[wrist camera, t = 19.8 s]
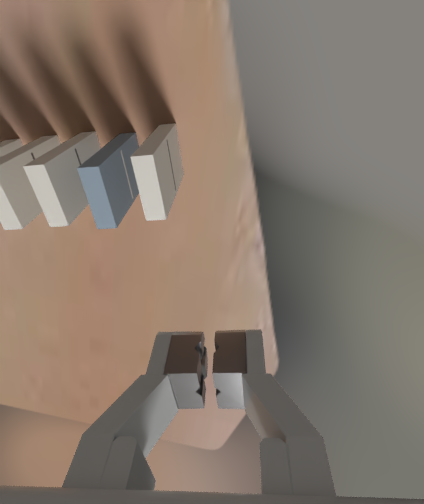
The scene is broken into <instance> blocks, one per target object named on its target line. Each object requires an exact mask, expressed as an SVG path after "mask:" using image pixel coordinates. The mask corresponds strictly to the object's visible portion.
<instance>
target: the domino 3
mask: <svg viewBox="0 0 424 504" xmlns="http://www.w3.org/2000/svg"><path fill="white" fill-rule="evenodd" d="M138 148H139V145H138V140H137V136H136V132H135V133H123V134H119V135H118V136H116V137H115V138H114V139H113V140H111V141H110V142H109V143H108V144H106V145H105V146H104V147H103V148H101V149H100V150H99V151H98V152H96V153H95V154H94V155H93V156H91V157H90V158H89V159H88V160H86V161H85V162H84V163H83V164H81V165H80V166H79V167H78V168H77V170H78V173H79V176H80V179H81V182H82V185H83V188H84V190H85V193H86V196H87V199H88V202H89V205H90V208H91V211H92V214H93V217H94V220H95V223H96V226H97V229H108V228H117V227H118V225H119V224H120V222H121V221H122V219H123V217H124V216H125V214H126V213H127V211H128V210H129V208H130V206H131V205H132V203H133V202H134V200H135V199H136V197H137V195H138V194H139V190H138V186H137V182H136V178H135V174H134V170H133V166H132V162H131V158H130V157H131V155H132V154H133V153H134V152H135V151H136V150H137V149H138Z"/></svg>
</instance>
